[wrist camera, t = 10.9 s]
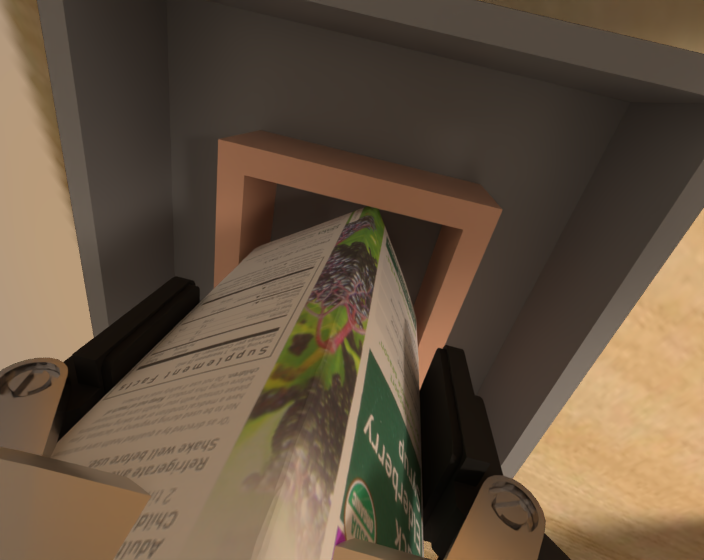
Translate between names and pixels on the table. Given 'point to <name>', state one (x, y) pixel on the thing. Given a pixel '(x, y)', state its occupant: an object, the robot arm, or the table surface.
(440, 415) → the robot arm
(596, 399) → the table surface
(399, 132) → the walled box
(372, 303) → the syrup box
